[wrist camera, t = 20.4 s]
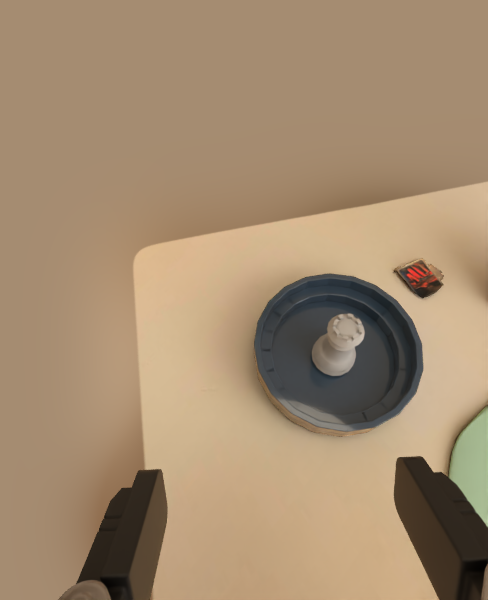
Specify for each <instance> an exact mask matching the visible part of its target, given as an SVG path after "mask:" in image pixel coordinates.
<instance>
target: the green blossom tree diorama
mask: <svg viewBox="0 0 488 600" xmlns="http://www.w3.org/2000/svg"><path fill="white" fill-rule="evenodd" d="M448 478H449V479H451V480H452V481H453V482H455V483H456V484H457V485H458V487H459V488H460V490H461V491H462V492H463V494H464V495H465V496H466V498H467V501H469V502H470V503H471V505H472V506H473V508H474V509H475V511H476V513H478V514H479V516H480V517H481V519H482V520H483V521H484V523H485V524H486V525H487V527H488V406H486V407H485V408H484V409H483V410H482V411H481V412H480V413H479V414H478V415H477V416H476V417H475V418H474V419H473V420H472V421H471V422H470V423H469V425H468V426H467V427H466V428H465V429H464V430H463V431H462V432H461V434H460V435H459V437H458V439H457V441H456V443H455V445H454V448H453V451H452V456H451V461H450V469H449V477H448Z"/></svg>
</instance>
